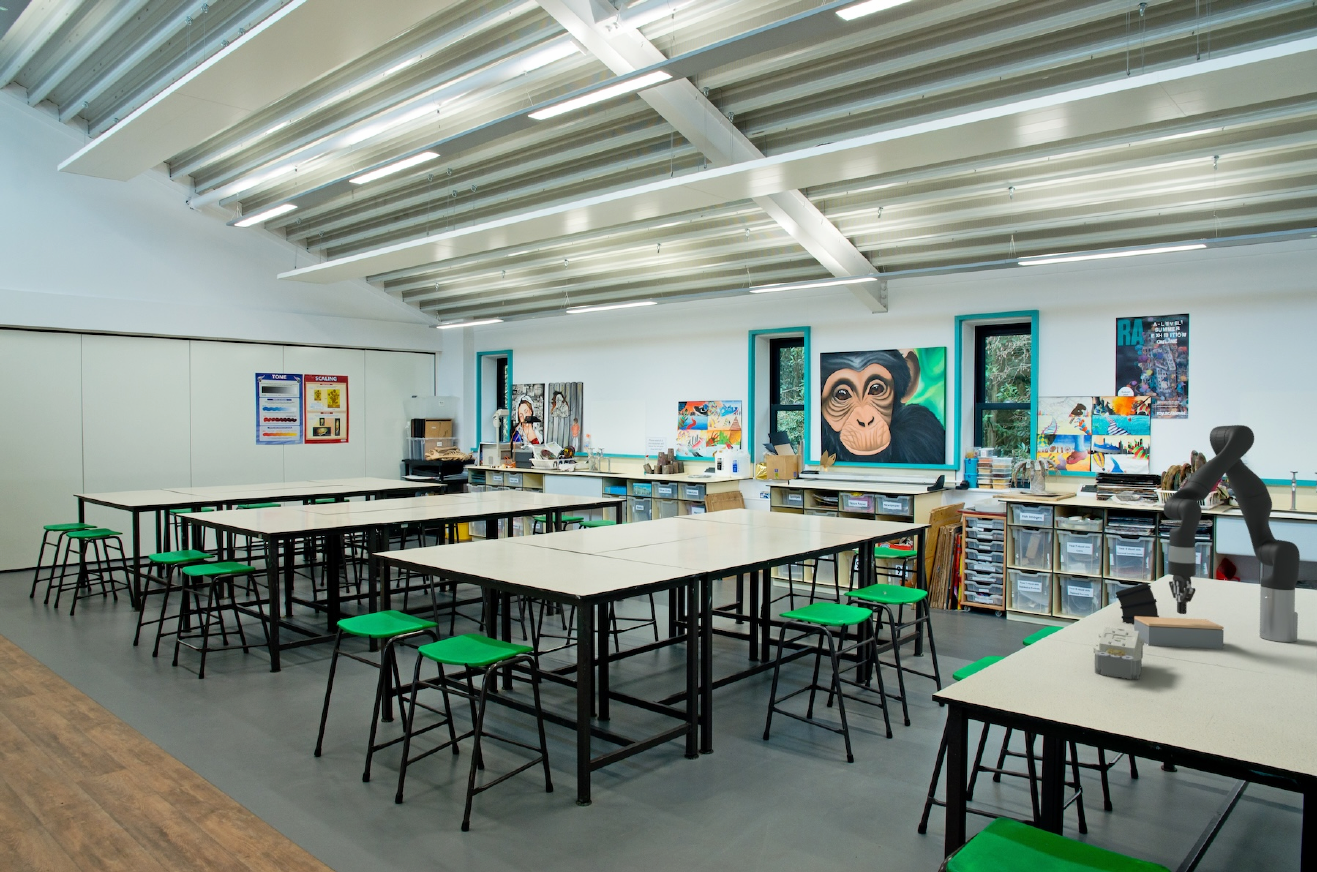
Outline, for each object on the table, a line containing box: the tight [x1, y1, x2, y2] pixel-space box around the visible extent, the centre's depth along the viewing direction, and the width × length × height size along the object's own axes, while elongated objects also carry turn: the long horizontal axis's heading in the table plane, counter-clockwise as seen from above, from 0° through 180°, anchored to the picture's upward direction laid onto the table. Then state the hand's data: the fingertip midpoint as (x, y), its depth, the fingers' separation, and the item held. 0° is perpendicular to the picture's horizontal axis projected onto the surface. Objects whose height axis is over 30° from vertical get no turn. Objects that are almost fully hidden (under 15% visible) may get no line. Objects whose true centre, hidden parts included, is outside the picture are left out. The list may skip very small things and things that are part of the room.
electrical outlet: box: [1093, 626, 1145, 680], centre depth 234 cm, size 12×28×10 cm, turn 146°
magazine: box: [1115, 582, 1160, 625], centre depth 291 cm, size 4×13×15 cm, turn 52°
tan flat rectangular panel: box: [1134, 616, 1225, 630], centre depth 265 cm, size 22×11×1 cm, turn 81°
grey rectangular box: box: [1133, 619, 1225, 650], centre depth 265 cm, size 22×11×6 cm, turn 81°
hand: (1181, 613), depth 263 cm, fingers closed
